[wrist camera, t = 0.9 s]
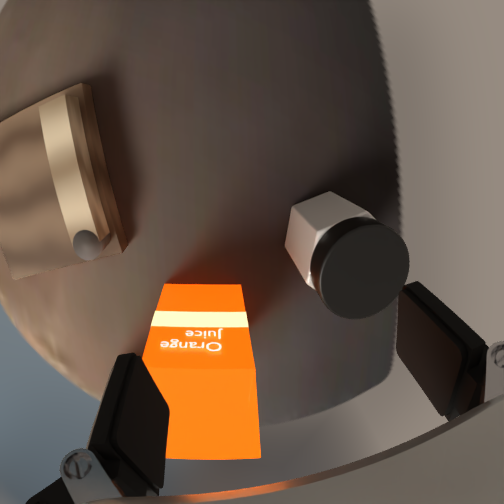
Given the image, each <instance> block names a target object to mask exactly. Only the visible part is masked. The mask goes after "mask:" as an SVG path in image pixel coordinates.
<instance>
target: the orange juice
mask: <svg viewBox="0 0 504 504" xmlns="http://www.w3.org/2000/svg"><path fill="white" fill-rule="evenodd" d="M142 360H143V361H144V363H145V365H146V367H147V369H148V371H149V373H150V374H151V376H152V378H153V380H154V381H155V383H156V385H157V387H158V388H159V390H160V392H161V394H162V395H163V397H164V399H165V400H166V402H167V404H168V406H169V409H170V418H169V427H168V437H167V448H166V458H176V459H211V460H213V459H250V458H260V457H261V451H260V436H259V421H258V406H257V391H256V375H255V373H256V371H255V365H254V359H253V353H252V348H251V342H250V336H249V330H248V321H247V315H246V312H245V306H244V300H243V294H242V288H241V285H204V284H164V287H163V290H162V293H161V296H160V299H159V303H158V306H157V309H156V311H155V314H154V317H153V320H152V324H151V329H150V332H149V336H148V339H147V343H146V346H145V350H144V354H143V357H142Z"/></svg>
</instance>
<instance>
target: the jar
mask: <svg viewBox="0 0 504 504" xmlns="http://www.w3.org/2000/svg"><path fill="white" fill-rule="evenodd" d="M285 248H286V250H287V251H288V253H289V255H290V256H291V258H292V260H293V261H294V263H295V265H296V266H297V268H298V270H299V272H300V273H301V275H302V277H303V278H304V280H305V282H306V283H307V284H308V285H309V286H310V287H312V288H313V289H315V290H316V291H317V293H318V295H319V296H320V298H321V300H322V301H323V303H324V304H325V306H326V307H327V308H328V309H329V310H330V311H331V312H333V313H334V314H336V315H337V316H340V317H343V318H347V319H362V318H367V317H370V316H373V315H375V314H377V313H379V312H381V311H382V310H384V309H385V308H386V307H388V306H389V305H390V304H391V303H392V302H393V301H394V300H395V299H396V297H397V296H398V295H399V291H401V290H402V287H403V286H404V285H405V282H406V279H407V276H408V272H409V253H408V249H407V246H406V244H405V242H404V240H403V239H402V238H401V236H400V235H399V234H398V233H397V232H395V231H394V230H393V229H392V228H390V227H388V226H386V225H384V224H383V223H381V222H379V221H377V220H376V219H375V218H374V217H373V216H372V215H371V214H370V213H369V212H368V211H366V210H365V209H363V208H361V207H359V206H357V205H355V204H354V203H352V202H350V201H348V200H346V199H344V198H342V197H341V196H339V195H337V194H335V193H333V192H331V191H329V192H326V193H324V194H321V195H318V196H316V197H313V198H311V199H308V200H306V201H303V202H301V203H298V204H296V205H293V206H292V208H291V213H290V219H289V224H288V230H287V235H286V240H285Z"/></svg>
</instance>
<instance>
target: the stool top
mask: <svg viewBox="0 0 504 504" xmlns="http://www.w3.org/2000/svg"><path fill="white" fill-rule="evenodd" d="M63 95H69V96H74V97H78V100H79V106H80V112H81V117H82V123H83V128H84V133H85V138H86V143H87V147H88V152H89V156H90V161H91V165H92V169H93V173H94V177H95V181H96V185H97V189H98V193H99V197H100V200H101V204H102V207H103V211H104V214H105V218H106V221H107V225H108V228H109V231H110V242H109V244H108V245H107V247H106V248H105V249H104V250H103V251H102V252H101V253H100V254H99V255H98V257H96V258H95V259H99V258H104V257H108V256H112V255H116V254H120V253H123V251H124V250H125V249H126V247H127V246H128V242H127V239H126V236H125V232H124V229H123V226H122V222H121V219H120V215H119V212H118V208H117V205H116V201H115V197H114V193H113V190H112V186H111V182H110V178H109V174H108V170H107V165H106V161H105V157H104V152H103V148H102V143H101V139H100V134H99V129H98V124H97V119H96V113H95V108H94V102H93V96H92V90H91V86H90V85H87V84H84V83H79V84H77V85H74V86H72V87H70V88H67V89H65V90H63V91H61V92H59V93H56V94H54V95H52V96H50V97H48V98H46V99H44V100H42V101H40V102H38V103H36V104H34V105H32V106H30V107H28V108H26V109H24V110H22V111H20V112H18V113H17V114H15V115H13V116H11V117H9V118H8V119H6V120H4V121H3V122H1V123H0V245H1V248H2V251H3V254H4V257H5V259H6V262H7V265H8V267H9V270H10V272H11V275H12V277H13V280H16V279H20V278H24V277H28V276H32V275H36V274H39V273H43V272H47V271H51V270H55V269H59V268H63V267H67V266H71V265H75V264H79V263H83V262H87V261H91V260H84V259H82V258H80V257H79V256H78V255H77V254H76V253H75V251H74V248H73V246H72V243H71V240H70V237H69V234H68V231H67V227H66V224H65V221H64V218H63V214H62V211H61V208H60V204H59V201H58V197H57V193H56V189H55V186H54V182H53V178H52V174H51V169H50V165H49V161H48V156H47V151H46V147H45V142H44V136H43V131H42V125H41V119H40V113H39V106H41V105H43V104H45V103H47V102H50V101H52V100H54V99H56V98H58V97H60V96H63ZM95 259H93V260H95Z"/></svg>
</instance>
